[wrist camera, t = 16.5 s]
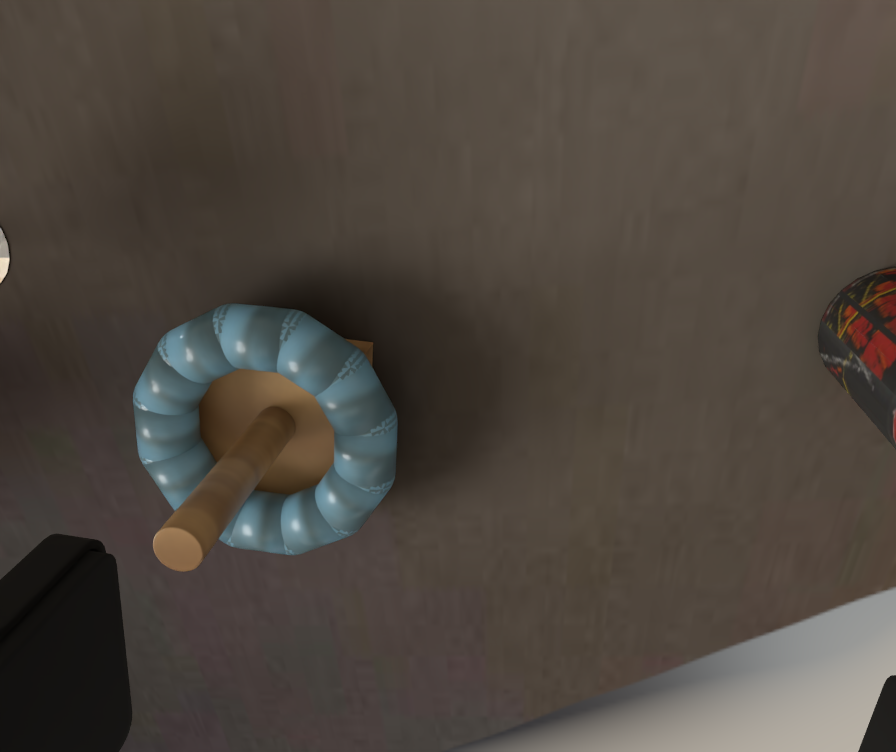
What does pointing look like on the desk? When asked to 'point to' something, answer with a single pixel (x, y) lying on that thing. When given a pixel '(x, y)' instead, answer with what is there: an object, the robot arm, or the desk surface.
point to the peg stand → (248, 456)
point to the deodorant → (865, 345)
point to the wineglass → (3, 256)
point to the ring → (302, 362)
